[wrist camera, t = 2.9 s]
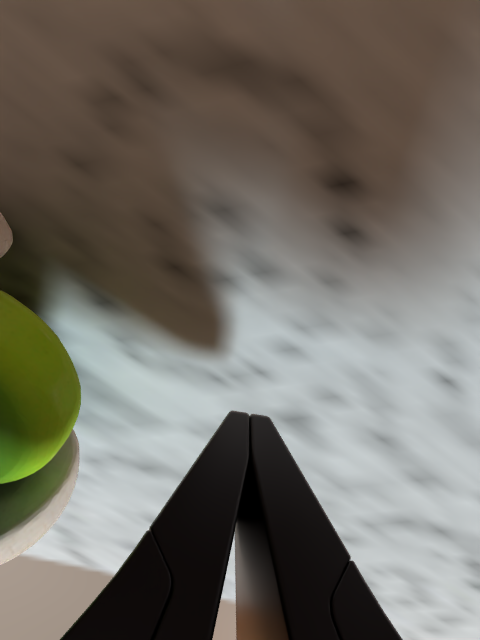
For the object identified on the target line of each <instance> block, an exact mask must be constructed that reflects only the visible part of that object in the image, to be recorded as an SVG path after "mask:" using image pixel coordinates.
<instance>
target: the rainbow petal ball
mask: <svg viewBox="0 0 480 640" xmlns="http://www.w3.org/2000/svg"><path fill="white" fill-rule="evenodd" d="M12 242H13V237H12V231H11V229H10V227H9V225H8V223H7V222H6V220H5V218H4V217H3V215H2V214H1V212H0V258H1V257H2V256H3V255H4V254H5V253H6V252H7V251H8V250H9V248H10V247H11V245H12ZM80 405H81V386H80V382H79V379H78V375H77V373H76V370H75V368H74V365H73V363H72V361H71V359H70V357H69V355H68V353H67V351H66V349H65V348H64V346H63V344H62V343H61V341H60V340H59V338H58V336H57V335H56V334H55V333H54V332H53V331H52V330H51V328H50V327H49V326H48V325H47V324H46V323H45V322H44V321H43V320H42V319H41V318H40V317H38V316H37V315H36V314H35V313H34V312H32V311H31V310H30V309H29V308H27V307H26V306H24V305H23V304H22V303H20V302H19V301H18V300H16V299H15V298H13V297H12V296H10V295H9V294H7V293H5V292H3V291H1V290H0V565H1V564H3V563H5V562H7V561H10V560H11V559H13V558H15V557H17V556H18V555H20V554H21V553H23V552H24V551H26V550H27V549H28V548H30V547H31V546H33V545H34V544H35V543H36V542H37V541H38V540H39V539H40V538H41V537H43V536H44V535H45V534H46V533H47V531H48V530H49V529H50V528H51V527H52V526H53V525H54V523H55V522H56V521H57V519H58V518H59V517H60V515H61V514H62V512H63V510H64V509H65V507H66V505H67V504H68V502H69V500H70V497H71V495H72V492H73V490H74V487H75V483H76V480H77V476H78V470H79V443H78V439H77V437H76V434H75V432H74V430H73V427H74V425H75V422H76V420H77V417H78V414H79V410H80Z"/></svg>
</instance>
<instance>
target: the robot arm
mask: <svg viewBox="0 0 480 640" xmlns="http://www.w3.org/2000/svg"><path fill="white" fill-rule="evenodd" d="M234 532H235V575H236V630H237V631H236V635H237V637H236V638H237V640H403V639H402V638H401V637H400V635H399V634H398V632H397V631H396V629H395V628H394V626H393V625H392V623H391V622H390V620H389V619H388V617H387V616H386V614H385V613H384V611H383V610H382V608H381V606H380V605H379V603H378V601H377V600H376V598H375V596H374V595H373V593H372V592H371V590H370V588H369V587H368V585H367V583H366V582H365V580H364V578H363V577H362V575H361V573H360V572H359V570H358V568H357V566H356V565H355V563H354V561H350V559H351V557H350V555H349V553H348V551H347V549H346V548H345V546H344V544H343V543H342V541H341V539H340V537H339V536H338V534H337V532H336V531H335V529H334V527H333V525H332V524H331V522H330V520H329V519H328V517H327V515H326V513H325V512H324V510H323V508H322V506H321V505H320V503H319V501H318V500H317V498H316V496H315V494H314V493H313V491H312V489H311V488H310V486H309V484H308V482H307V481H306V479H305V477H304V476H303V474H302V472H301V470H300V469H299V467H298V465H297V464H296V462H295V460H294V458H293V457H292V455H291V453H290V452H289V450H288V448H287V446H286V445H285V443H284V441H283V439H282V438H281V436H280V434H279V433H278V431H277V429H276V427H275V426H274V424H273V422H272V421H271V419H270V418H269V417H268V416H263V415H257V414H251V415H250V416H249V414H248V413H244V412H238V411H230V412H229V413H228V415H227V416H226V418H225V419H224V420H223V422H222V423H221V425H220V426H219V428H218V429H217V431H216V432H215V433H214V435H213V436H212V438H211V439H210V441H209V442H208V444H207V445H206V447H205V448H204V449H203V451H202V452H201V454H200V455H199V457H198V458H197V460H196V461H195V462H194V464H193V465H192V467H191V468H190V470H189V471H188V473H187V474H186V475H185V477H184V478H183V480H182V481H181V483H180V484H179V486H178V487H177V488H176V490H175V491H174V493H173V494H172V496H171V497H170V499H169V500H168V502H167V503H166V504H165V506H164V507H163V509H162V510H161V512H160V513H159V515H158V516H157V517H156V519H155V520H154V522H153V523H152V525H151V526H150V528H149V531H147V532H146V533H145V534H144V536H143V537H142V539H141V540H140V542H139V543H138V544H137V546H136V547H135V549H134V550H133V552H132V553H131V554H130V556H129V557H128V558H127V560H126V561H125V562H124V564H123V565H122V566H121V568H120V569H119V570H118V572H117V573H116V574H115V576H114V577H113V578H112V579H111V581H110V582H109V583H108V584H107V585H106V587H105V588H104V589H103V590H102V591H101V593H100V594H99V595H98V597H97V598H96V599H95V600H94V601H93V602H92V604H91V605H90V606H89V607H88V608H87V609H86V611H85V612H84V613H83V614H82V615H81V616H80V617H79V618H78V620H77V621H76V622H75V623H74V624H73V625H72V627H71V628H70V629H69V630H68V631H67V632H66V633H65V635H63V637H62V638H61V639H60V640H212V638H213V633H214V628H215V624H216V618H217V614H218V608H219V604H220V600H221V595H222V590H223V585H224V580H225V575H226V571H227V566H228V561H229V556H230V551H231V547H232V542H233V537H234Z"/></svg>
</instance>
